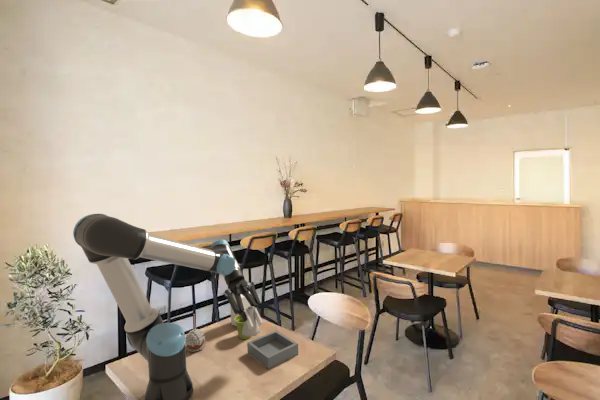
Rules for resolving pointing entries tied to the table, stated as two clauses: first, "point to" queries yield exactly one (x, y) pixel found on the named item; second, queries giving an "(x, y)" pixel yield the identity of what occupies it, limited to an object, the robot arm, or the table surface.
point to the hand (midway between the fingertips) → (256, 325)
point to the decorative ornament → (195, 339)
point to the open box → (272, 349)
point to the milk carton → (245, 304)
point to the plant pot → (240, 326)
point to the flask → (255, 328)
